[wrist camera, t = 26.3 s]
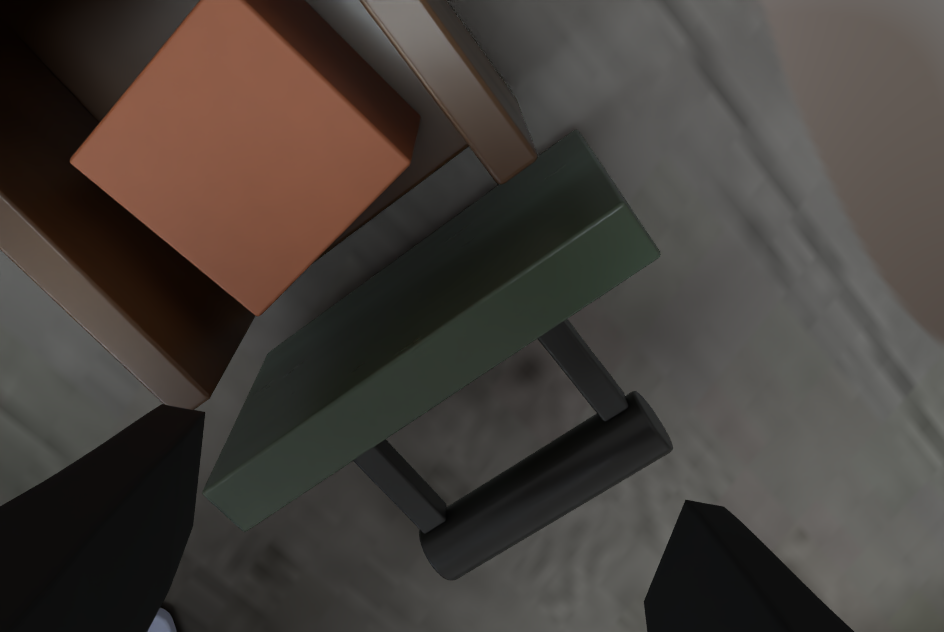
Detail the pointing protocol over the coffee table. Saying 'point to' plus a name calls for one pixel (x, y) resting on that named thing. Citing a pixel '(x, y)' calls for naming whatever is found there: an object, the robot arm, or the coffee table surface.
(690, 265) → the coffee table surface
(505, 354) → the drawer
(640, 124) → the coffee table surface
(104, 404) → the coffee table surface
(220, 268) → the block
